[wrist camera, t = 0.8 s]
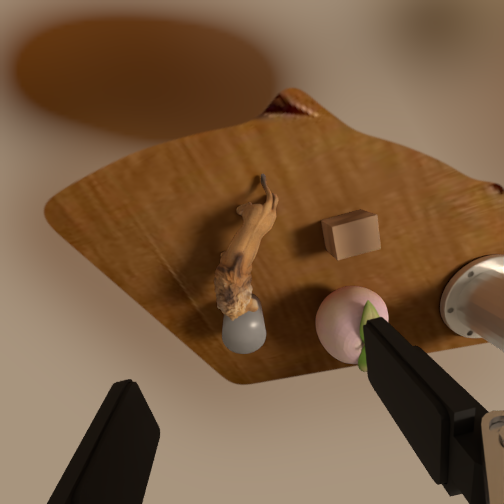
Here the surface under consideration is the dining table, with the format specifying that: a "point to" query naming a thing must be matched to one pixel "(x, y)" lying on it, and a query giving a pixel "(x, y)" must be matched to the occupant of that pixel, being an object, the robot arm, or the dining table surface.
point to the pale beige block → (351, 234)
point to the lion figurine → (243, 257)
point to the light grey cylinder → (245, 331)
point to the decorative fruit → (348, 322)
